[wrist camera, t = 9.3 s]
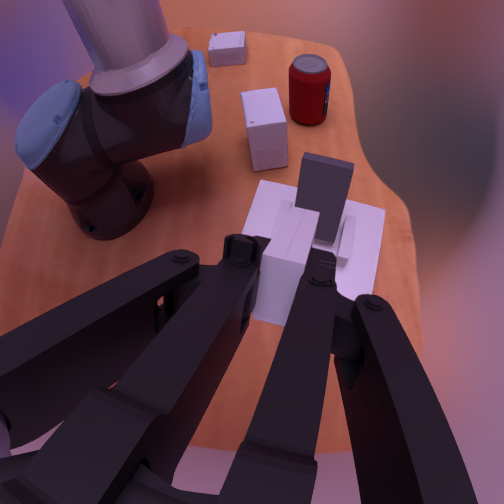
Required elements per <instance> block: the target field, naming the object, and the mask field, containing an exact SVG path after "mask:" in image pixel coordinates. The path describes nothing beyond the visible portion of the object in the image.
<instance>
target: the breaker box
mask: <svg viewBox="0 0 504 504" xmlns="http://www.w3.org/2000/svg"><path fill="white" fill-rule="evenodd" d="M296 194H297V187H293V186H288V185H284V184H279V183H275V182H270V181H265V180H260V183H259V186H258V189H257V191H256V194H255V197H254V200H253V203H252V205H251V208H250V211H249V214H248V217H247V220H246V223H245V225H244V228H243V231H242V234H245V235H250V236H256V235H257V236H261V237H266V238H270V239H272V238H273V236H274V235H275V233H276V231H277V230H278V228H279V227H280V225H281V223H282V222H283V220H284V218H285V217H286V215H287V214H288V212H289V210H290V209H291V207H292V206H293V207H294V206H295V200H296ZM384 217H385V210H384V209H380V208H377V207H373V206H370V205H366V204H362V203H358V202H354V201H351V200H347V199H346V202H345V206H344V210H343V214H342V217H341V221H340V225H339V228H338V232H337V235H336V239H335V242H334V243H333V245H331V244H327V243H323V242H319V241H316V240H314V241H313V246H312V247H313V248H317V249H321V250H325V251H329V252H333V253H334V255H335V256H336V258H337V262H336V275H335V282H336V284H337V291H338V292H339V293H340V294H341V295H343V296H344V297H346V298H348V299H351V300H353V301H355V299H356V297H357V296H358V295H361V294H371V295H372V291H373V285H374V280H375V275H376V269H377V263H378V257H379V251H380V245H381V238H382V231H383V224H384Z"/></svg>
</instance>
